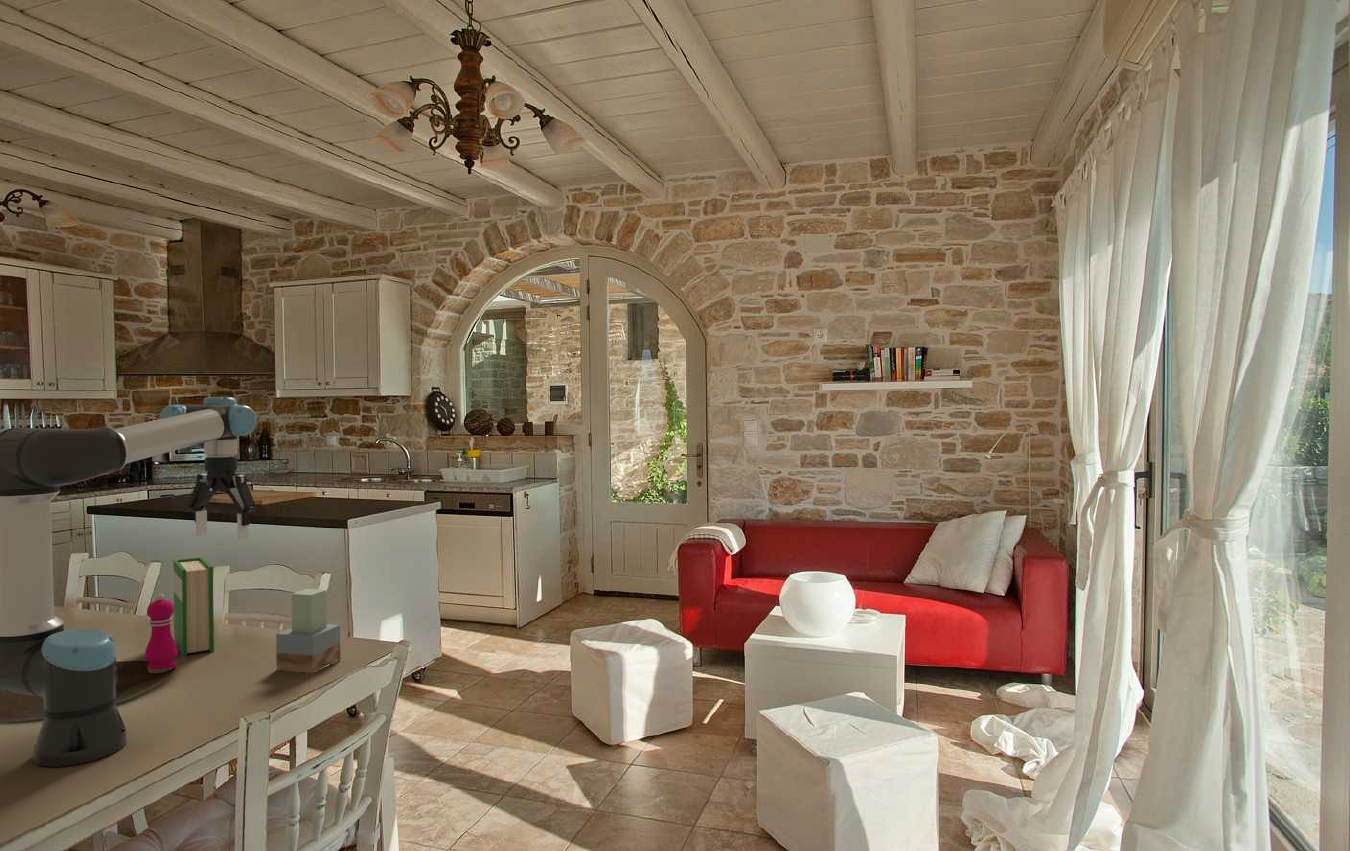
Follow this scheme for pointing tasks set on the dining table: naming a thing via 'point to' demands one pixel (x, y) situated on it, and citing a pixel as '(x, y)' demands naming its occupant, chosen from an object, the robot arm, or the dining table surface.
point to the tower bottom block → (307, 660)
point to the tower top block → (307, 641)
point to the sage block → (309, 610)
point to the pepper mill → (161, 635)
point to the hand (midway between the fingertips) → (222, 536)
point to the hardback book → (193, 605)
